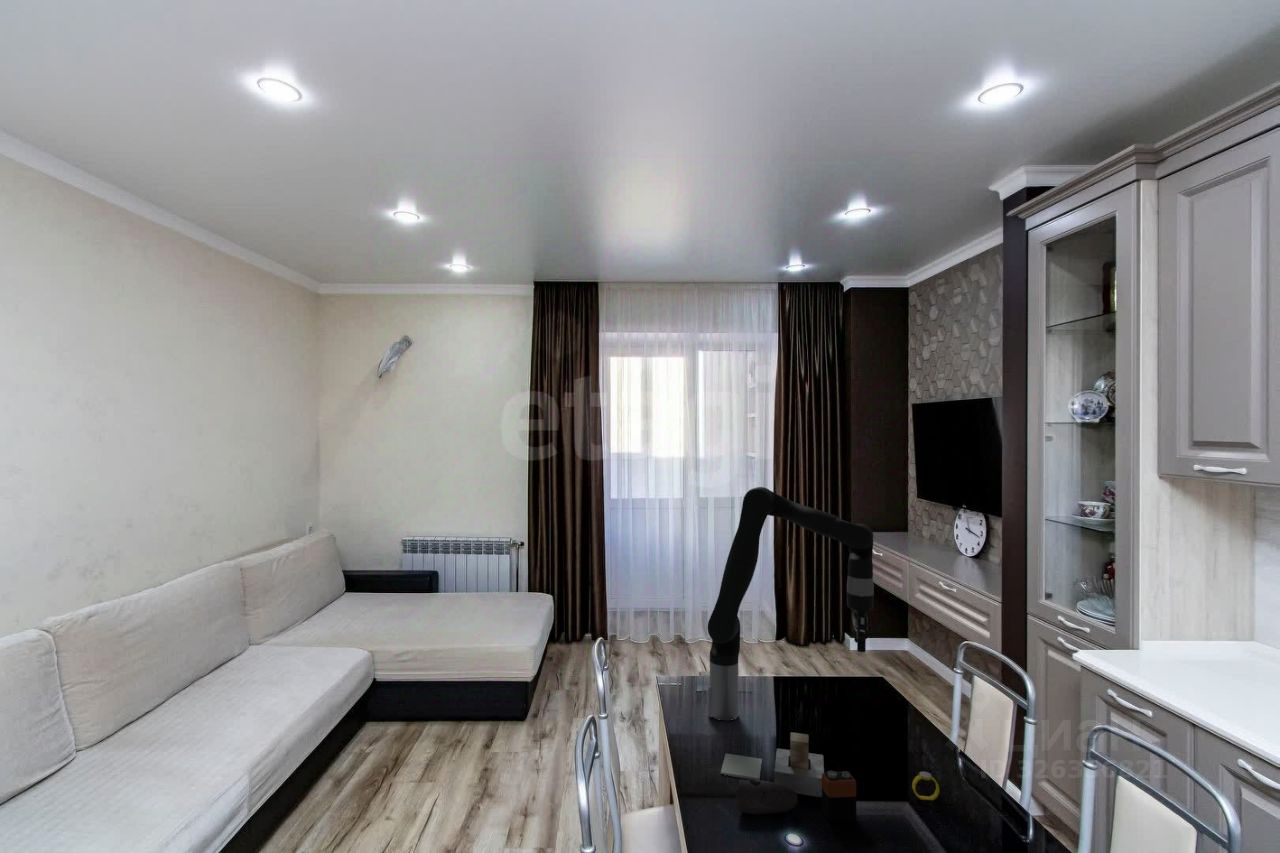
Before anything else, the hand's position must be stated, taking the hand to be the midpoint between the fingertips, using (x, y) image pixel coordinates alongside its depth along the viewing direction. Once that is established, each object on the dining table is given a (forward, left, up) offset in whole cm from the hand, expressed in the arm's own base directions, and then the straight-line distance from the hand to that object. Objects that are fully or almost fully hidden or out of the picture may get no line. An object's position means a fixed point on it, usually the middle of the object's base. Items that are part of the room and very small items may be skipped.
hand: (859, 646), depth 173 cm
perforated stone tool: (-24, -43, -28) cm, 56 cm away
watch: (+13, -26, -28) cm, 40 cm away
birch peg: (-17, -27, -27) cm, 42 cm away
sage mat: (-32, -25, -27) cm, 49 cm away
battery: (-8, -40, -28) cm, 49 cm away
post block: (-17, -27, -27) cm, 42 cm away
